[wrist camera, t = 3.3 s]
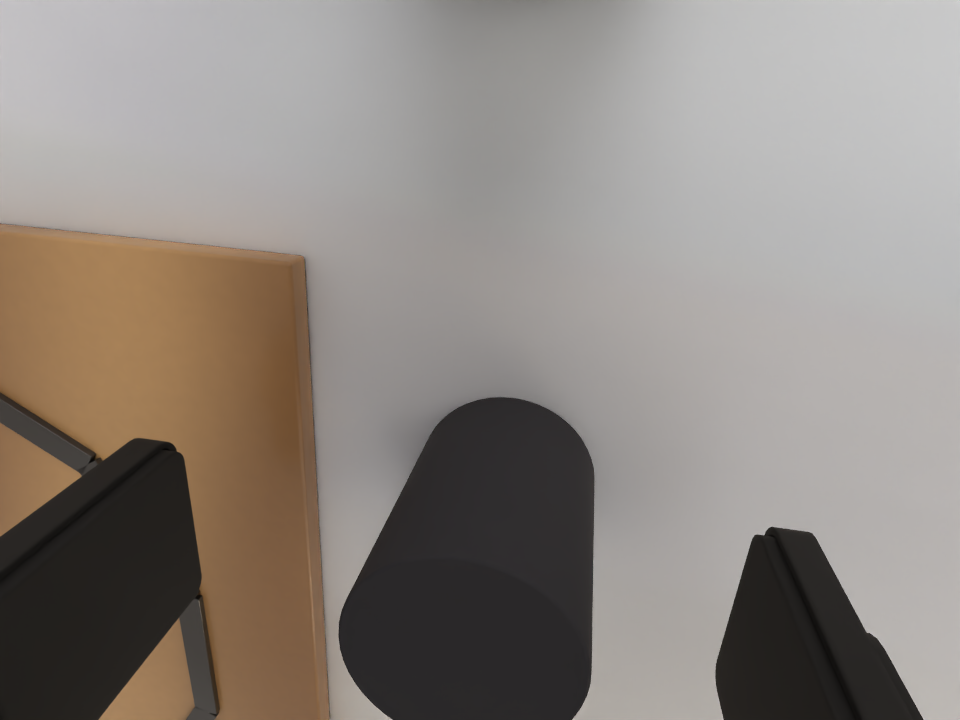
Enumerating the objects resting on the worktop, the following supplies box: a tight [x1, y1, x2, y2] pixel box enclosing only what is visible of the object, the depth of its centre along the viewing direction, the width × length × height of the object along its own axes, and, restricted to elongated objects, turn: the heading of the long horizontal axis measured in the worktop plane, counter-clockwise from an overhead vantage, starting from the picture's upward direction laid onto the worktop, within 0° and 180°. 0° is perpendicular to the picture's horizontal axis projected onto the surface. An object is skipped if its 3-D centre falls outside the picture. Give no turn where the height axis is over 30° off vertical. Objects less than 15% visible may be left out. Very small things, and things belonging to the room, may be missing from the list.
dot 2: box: [339, 398, 594, 720], centre depth 10 cm, size 3×3×4 cm
